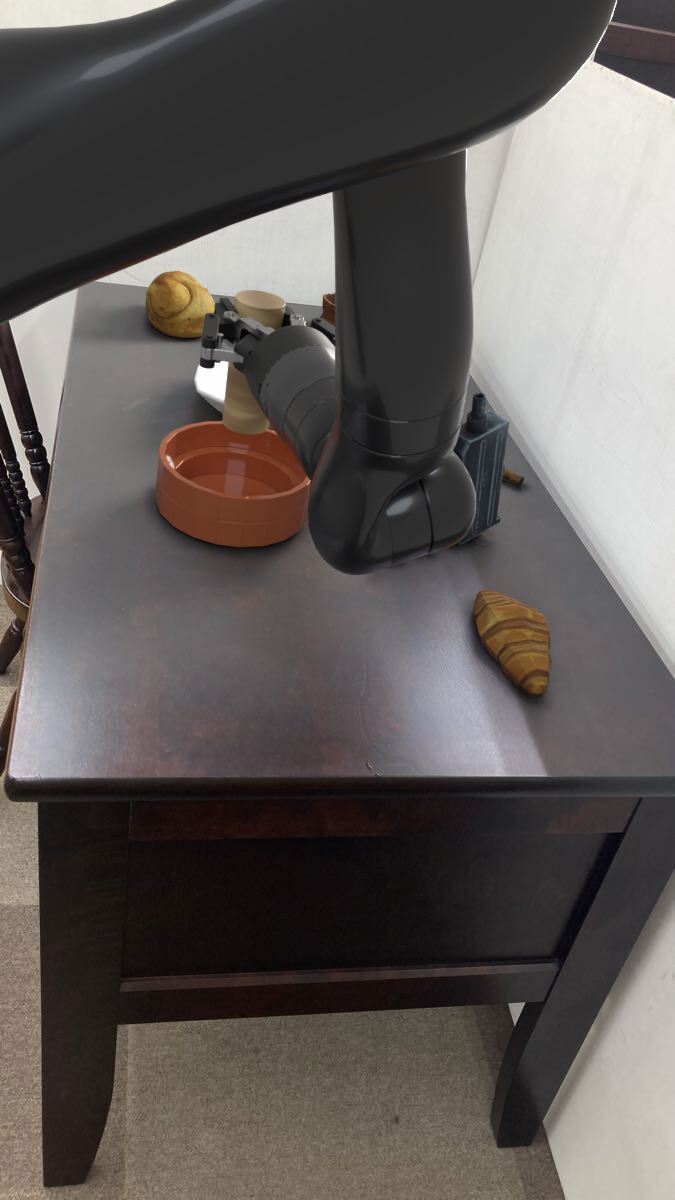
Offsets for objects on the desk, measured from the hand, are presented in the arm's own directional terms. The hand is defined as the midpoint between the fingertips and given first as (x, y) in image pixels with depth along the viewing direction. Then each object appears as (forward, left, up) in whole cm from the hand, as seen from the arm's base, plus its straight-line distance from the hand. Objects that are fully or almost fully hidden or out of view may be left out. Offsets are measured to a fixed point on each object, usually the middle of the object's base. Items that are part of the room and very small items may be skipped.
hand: (249, 310), depth 81 cm
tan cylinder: (0, -3, -10) cm, 10 cm away
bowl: (+12, +18, -20) cm, 30 cm away
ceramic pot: (+28, +40, -20) cm, 53 cm away
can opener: (+34, +4, -20) cm, 40 cm away
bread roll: (+5, +46, -20) cm, 50 cm away
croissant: (+19, -27, -20) cm, 39 cm away
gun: (+20, -10, -20) cm, 30 cm away
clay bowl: (0, -2, -20) cm, 20 cm away
